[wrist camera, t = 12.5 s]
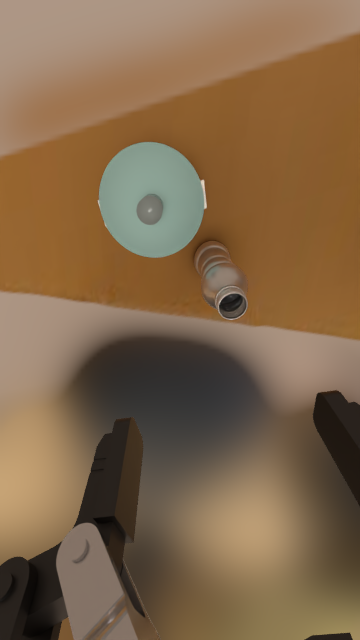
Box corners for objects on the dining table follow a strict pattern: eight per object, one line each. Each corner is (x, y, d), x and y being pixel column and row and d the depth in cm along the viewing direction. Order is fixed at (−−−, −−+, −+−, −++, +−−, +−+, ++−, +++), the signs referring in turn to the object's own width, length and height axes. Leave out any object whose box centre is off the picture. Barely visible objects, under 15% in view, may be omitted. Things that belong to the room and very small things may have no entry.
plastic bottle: (194, 275, 48) (207, 333, 30) (191, 239, 44) (203, 283, 27) (227, 271, 47) (259, 327, 30) (226, 235, 44) (262, 276, 27)
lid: (197, 132, 30) (202, 125, 24) (207, 247, 37) (213, 260, 32) (85, 153, 30) (68, 150, 25) (117, 262, 38) (109, 276, 32)
